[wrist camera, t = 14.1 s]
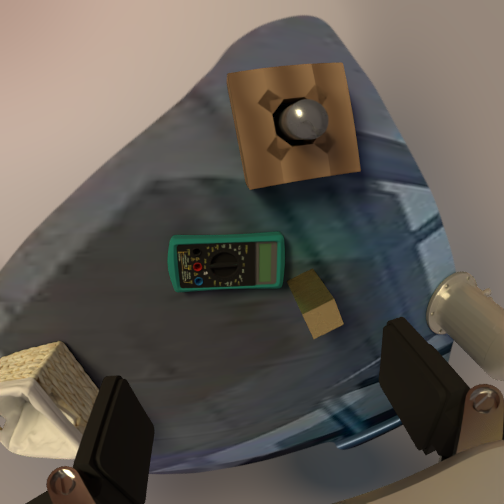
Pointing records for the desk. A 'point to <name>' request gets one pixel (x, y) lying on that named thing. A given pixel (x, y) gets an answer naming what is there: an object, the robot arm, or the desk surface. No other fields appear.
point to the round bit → (301, 121)
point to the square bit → (315, 303)
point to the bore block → (263, 131)
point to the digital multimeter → (226, 261)
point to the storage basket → (44, 402)
